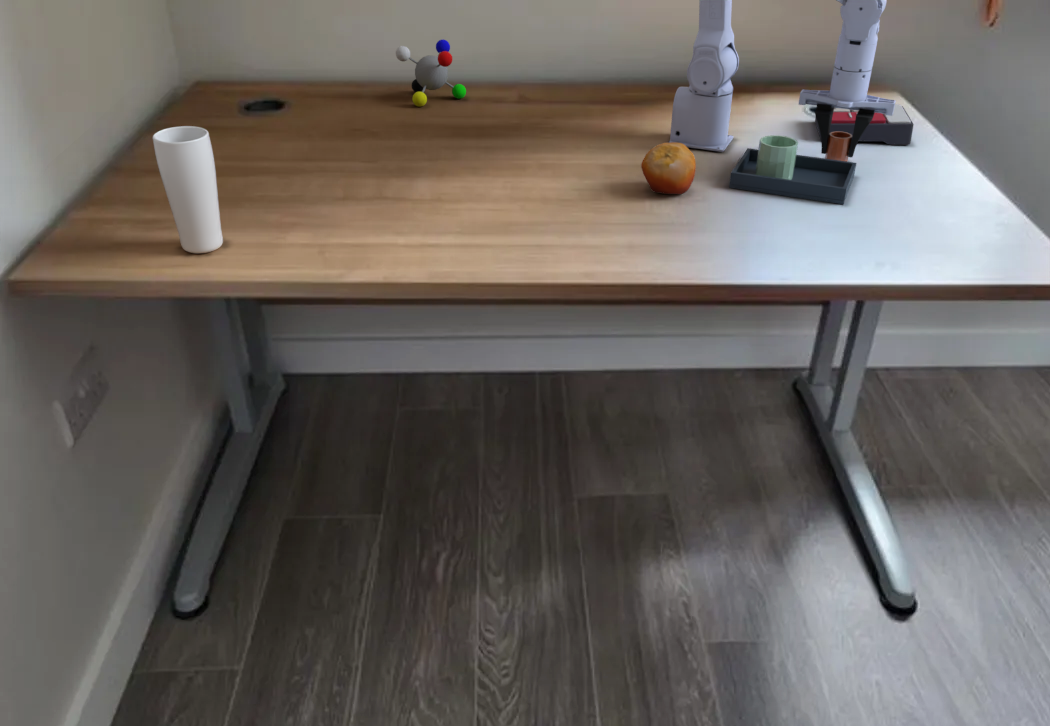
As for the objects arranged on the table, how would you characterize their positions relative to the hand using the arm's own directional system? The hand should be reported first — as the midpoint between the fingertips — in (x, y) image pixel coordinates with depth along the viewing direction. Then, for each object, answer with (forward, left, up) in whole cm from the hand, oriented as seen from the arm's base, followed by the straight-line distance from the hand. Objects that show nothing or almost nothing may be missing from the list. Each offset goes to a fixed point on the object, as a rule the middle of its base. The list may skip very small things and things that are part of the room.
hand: (837, 153), depth 158 cm
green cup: (-8, -12, -1) cm, 14 cm away
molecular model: (-76, +5, -2) cm, 76 cm away
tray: (-5, -12, -2) cm, 13 cm away
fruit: (-22, -23, -2) cm, 32 cm away
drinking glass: (-73, -67, -2) cm, 99 cm away
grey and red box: (+2, +17, -2) cm, 17 cm away
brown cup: (0, 0, -1) cm, 1 cm away
